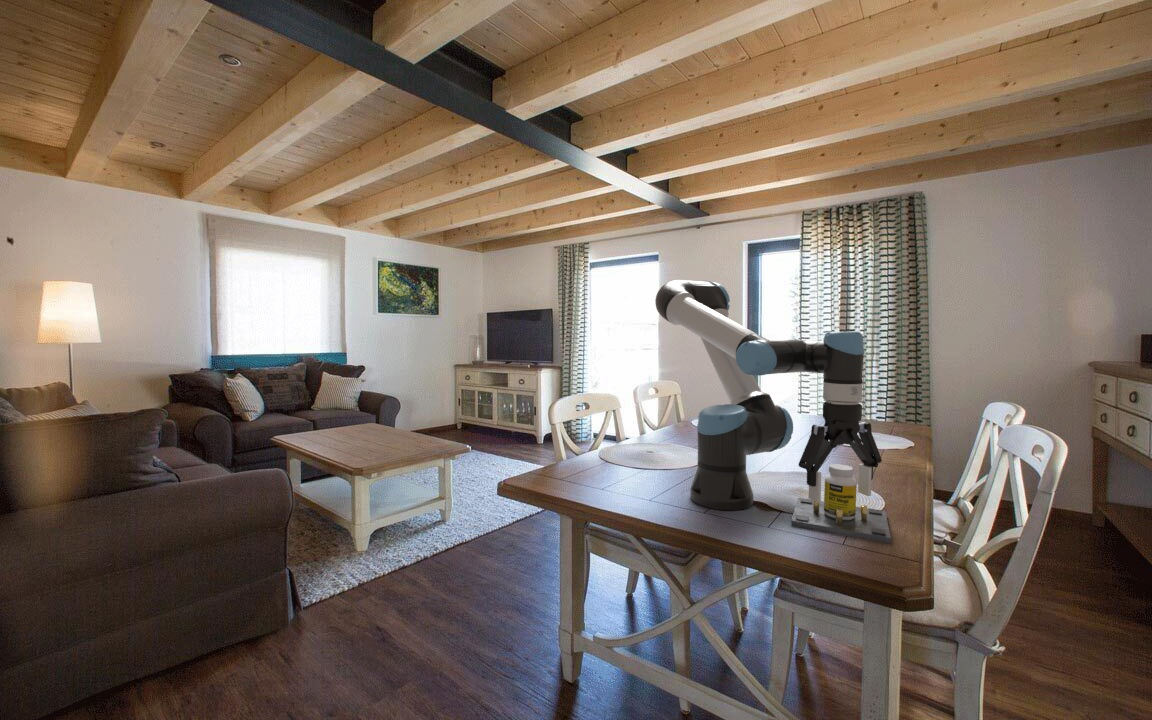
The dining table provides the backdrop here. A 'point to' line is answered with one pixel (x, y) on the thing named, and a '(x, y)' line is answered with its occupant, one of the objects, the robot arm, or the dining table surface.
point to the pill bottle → (840, 492)
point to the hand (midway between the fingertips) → (839, 497)
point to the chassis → (842, 521)
